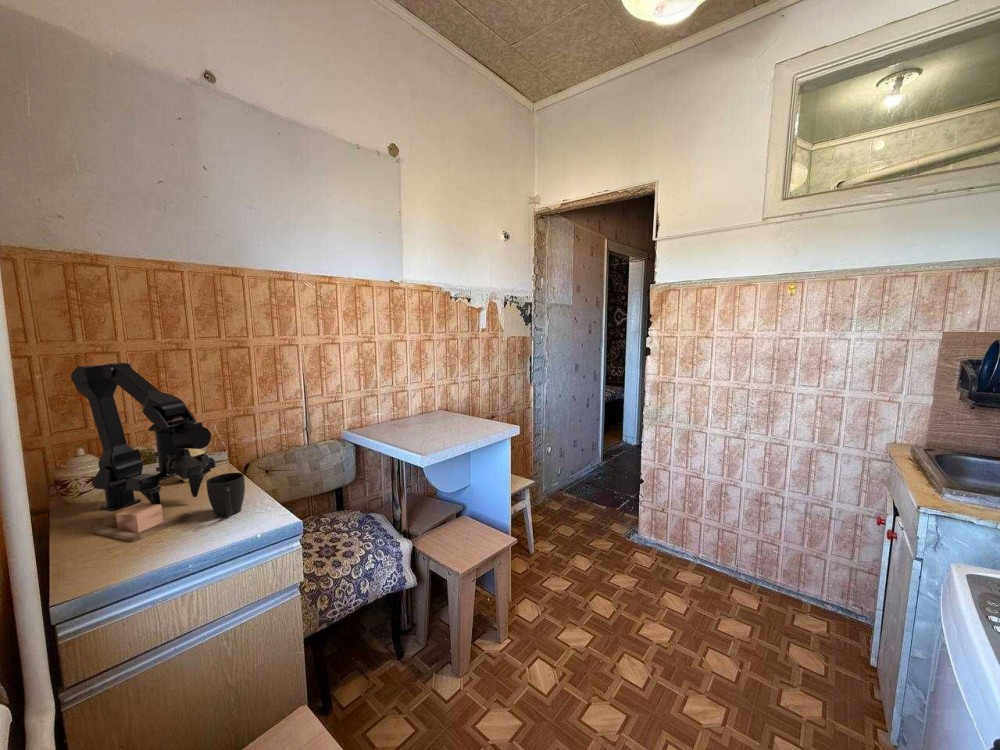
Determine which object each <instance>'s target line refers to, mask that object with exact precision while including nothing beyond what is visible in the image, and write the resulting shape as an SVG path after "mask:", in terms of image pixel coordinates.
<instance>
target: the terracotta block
mask: <svg viewBox="0 0 1000 750" xmlns="http://www.w3.org/2000/svg"><path fill="white" fill-rule="evenodd" d="M163 515H164V514H163V507H162V504H161V505H160V504H151V503H144V502H143V503H139V504H136V505H134V506H132V507H129V508H127V509H124V510H122V511H120V512H117V513H115V517H116V519H117V526H116V527H117V530H121V531H126V532H130V533H135V534H136V533H139V532H141V531H144V530H146V529H149V528H151V527H153V526H156V525H158V524H161V523H163V522H165V521H164V516H163ZM116 519H115V520H116Z"/></svg>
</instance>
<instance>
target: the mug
mask: <svg viewBox="0 0 1000 750" xmlns="http://www.w3.org/2000/svg"><path fill="white" fill-rule="evenodd" d="M205 484H206V491H207V492H206V493H207V497H208V500H209V504H210V505H211V507H212V509H213V512H214V513H215V516H216V517H218V518H228V517H232V516H235V515H237V514H238V513H240V512H241V511H242V506H243V504H244V503H243V502H244V499H245V492H246V483H245V474H244V473H242V472H229V473H222V474H219V475H215V476H213V477H210V478H207V480H206V481H205Z"/></svg>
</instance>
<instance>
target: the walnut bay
mask: <svg viewBox="0 0 1000 750" xmlns="http://www.w3.org/2000/svg"><path fill="white" fill-rule="evenodd" d="M190 518H191V516H190V513H188V512H187V513H183V514H180V515H178V516H175V517H173V518H171V519H167V520H166V521H164V522H162V523H160V524H157V525H155V526H153V527H151V528H149V529H146V530H144V531H141V532H139V533H130V532H126V531H121V530H118V529H117V528H116V529H115V528H114V527H118V526H117V519H115V520H112V521H108V522H106V523H103V524H100V525H98V526H95V527H92V528H91V533H93V534H97V535H101V536H106V537H110V538H114V539H119V540H122V541H127V542H131V543H134V542H136V541H140V540H141V539H144V538H146V537H147V536H150V535H153V534H155V533H157V532H160V531H162V530H165V529H167V528H170V527H171V526H174V525H176V524H179V523H181V522H183V521H185V520H188V519H190Z"/></svg>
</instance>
